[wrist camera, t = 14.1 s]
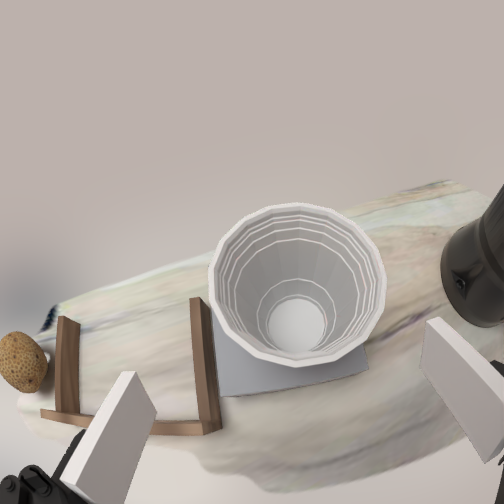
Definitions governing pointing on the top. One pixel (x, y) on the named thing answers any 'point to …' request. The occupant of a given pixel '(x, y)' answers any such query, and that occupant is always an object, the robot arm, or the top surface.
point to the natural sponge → (22, 362)
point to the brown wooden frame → (207, 410)
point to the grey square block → (273, 368)
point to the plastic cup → (297, 284)
